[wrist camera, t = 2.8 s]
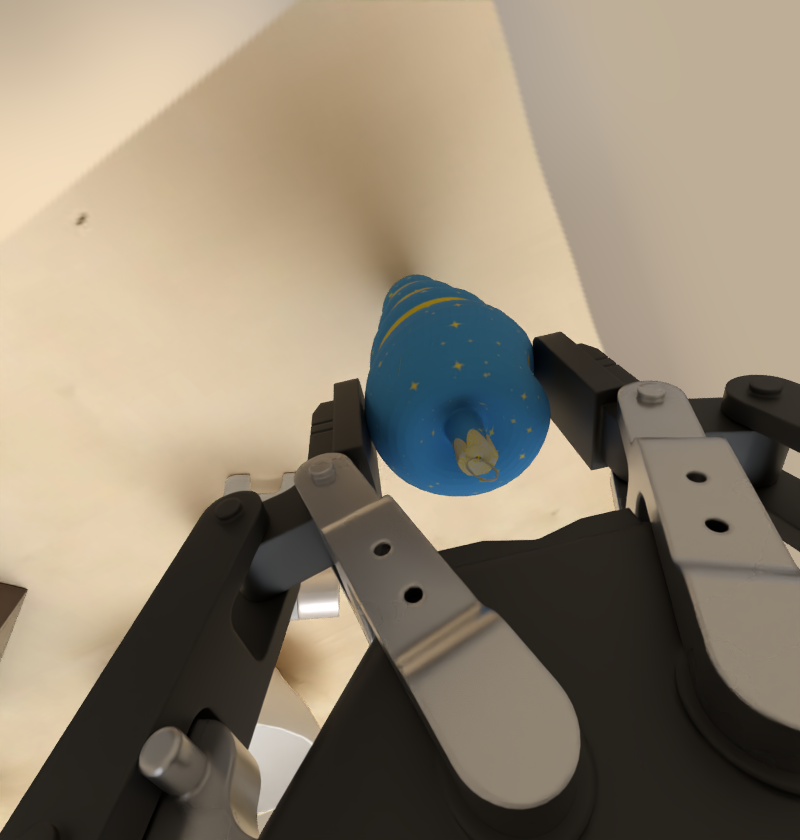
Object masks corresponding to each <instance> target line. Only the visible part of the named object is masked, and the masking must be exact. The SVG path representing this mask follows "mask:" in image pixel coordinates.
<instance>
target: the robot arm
mask: <svg viewBox="0 0 800 840" xmlns="http://www.w3.org/2000/svg"><path fill="white" fill-rule="evenodd" d="M533 354H534V371H533V374H534V376H535V377H536V379H537V380H538V381H539V383H540V384H541V386H542V387H543V389H544V391H545V393H546V395H547V397H548V400H549V404H550V411H551V416H550V418H551V419H552V421H553V422H554V423H555V424H556V426H557V427H558V428H559V430H560V431H561V432H562V433H563V435H564V436H565V437H566V438H567V440H568V441H569V442H570V444H571V445H572V446H573V447H574V449H575V450H576V451H577V452H578V454H579V455H580V456H581V458H582V459H583V460H584V461H585V463H586V464H587V465H588V467H589V468H590V469H591V470H595V469H599V468H604V467H608V466H609V467H610V469H611V479H610V484H611V490H612V495H613V501H614V506H615V511H612V512H607V513H603V514H599V515H594V516H590V517H586V518H581V519H579V520H577V521H575V522H573V523H571V524H569V525H567V526H565V527H563V528H561V529H559V530H557V531H555V532H552V533H550V534H548V535H546V536H544V537H542V538H540V539H536V540H511V541H481V542H476V543H472V544H468V545H463V546H459V547H455V548H450V549H446V550H442V551H437V550H436V549H435V548H434V547H433V546H432V544H431V543H430V542H429V541H428V540H427V538H426V537H425V536H424V535H423V534H422V532H421V531H420V530H419V529H418V528H417V527H416V525H415V524H414V523H413V522H412V521H411V519H410V518H409V517H408V516H407V515H406V513H405V512H404V511H403V510H402V509H401V507H400V506H399V505H398V504H397V503H396V501H395V500H394V499H393V498H392V497H391V496H390V495H385V496H383V497H382V493H381V485H380V477H379V469H378V460H377V452H376V448H375V446H374V444H373V441H372V439H371V436H370V433H369V429H368V425H367V421H366V416H365V399H364V395H363V392H362V388H361V385H360V381H359V379H358V378H357V379H352V380H348V381H344V382H339V383H335V384H334V400H333V401H329V402H325V403H320V405H319V406H318V407H317V409H316V410H315V412H314V413H313V415H312V426H311V435H310V444H309V454H308V461H306V462H305V463H304V464H302V465H301V466H300V467H299V468H298V470H297V471H296V473H295V475H294V484H295V485H294V486H292V487H291V488H289V489H288V490H286V491H284V492H282V493H280V494H278V495H276V496H274V497H272V498H269V499H267V500H265V501H263V502H262V500H261V498H260V496H259V495H258V494H257V493H255V492H253V491H237V492H234V493H231V494H228V495H226V496H224V497H222V498H220V499H218V500H217V501H215V502H214V503H213V504H211V505H210V506H209V507H208V508H207V509H206V510H205V511H204V513H203V514H202V516H201V517H200V519H199V520H198V522H197V523H196V525H195V527H194V528H193V530H192V531H191V533H190V535H189V536H188V538H187V539H186V541H185V542H184V544H183V546H182V547H181V549H180V550H179V552H178V553H177V555H176V557H175V558H174V560H173V561H172V563H171V565H170V566H169V568H168V569H167V571H166V572H165V574H164V576H163V577H162V579H161V580H160V582H159V583H158V585H157V587H156V588H155V590H154V591H153V593H152V594H151V596H150V598H149V599H148V601H147V602H146V604H145V606H144V607H143V609H142V610H141V612H140V613H139V615H138V617H137V618H136V620H135V621H134V623H133V624H132V626H131V628H130V629H129V631H128V632H127V634H126V636H125V637H124V639H123V640H122V642H121V643H120V645H119V647H118V648H117V650H116V651H115V653H114V654H113V656H112V658H111V659H110V661H109V662H108V664H107V666H106V667H105V669H104V670H103V672H102V673H101V675H100V677H99V678H98V680H97V681H96V683H95V684H94V686H93V688H92V689H91V691H90V692H89V694H88V695H87V697H86V699H85V700H84V702H83V703H82V705H81V707H80V708H79V710H78V711H77V713H76V714H75V716H74V718H73V719H72V721H71V722H70V724H69V725H68V727H67V729H66V730H65V732H64V733H63V735H62V737H61V738H60V740H59V741H58V743H57V744H56V746H55V748H54V749H53V751H52V752H51V754H50V755H49V757H48V759H47V760H46V762H45V763H44V765H43V766H42V768H41V770H40V771H39V773H38V774H37V776H36V778H35V779H34V781H33V782H32V784H31V785H30V787H29V789H28V790H27V792H26V793H25V795H24V796H23V798H22V800H21V801H20V803H19V804H18V806H17V808H16V809H15V811H14V812H13V814H12V815H11V817H10V819H9V820H8V822H7V823H6V825H5V826H4V828H3V830H2V831H1V833H0V840H800V569H799V568H798V567H797V565H796V564H795V562H794V560H793V559H792V557H791V555H790V553H789V551H788V549H787V548H786V546H785V544H784V542H786V543H787V544H789V545H790V546H792V547H793V548H795V549H797V550H798V551H799V552H800V479H799V478H797V477H795V476H793V475H791V474H789V473H787V472H785V471H784V470H782V467H783V465H784V461H785V459H786V456H787V453H788V450H789V448H791V449H793V450H795V451H797V452H799V453H800V384H798V383H795V382H792V381H789V380H786V379H783V378H779V377H774V376H767V375H747V376H741V377H737V378H734V379H732V380H730V381H729V382H728V383H727V384H726V387H725V391H724V395H723V398H700V399H699V398H698V399H687V397H686V395H685V393H684V392H683V391H682V390H681V389H679V388H678V387H676V386H674V385H671V384H668V383H664V382H658V381H639V380H637V379H636V378H635V377H633V376H632V375H631V374H629V373H628V372H627V371H626V370H624V369H623V368H622V367H621V366H619V365H616V363H615V362H614V361H613V360H611V359H610V358H608V356H606V355H605V354H604V353H602V352H601V351H600V350H599V349H597V348H594V347H591V346H588V345H585V344H582V343H581V344H576V343H574V342H573V341H572V340H571V339H569V338H568V337H567V336H566V335H565V334H563V333H562V332H556V333H552V334H548V335H544V336H539V337H535V338H534V340H533ZM783 541H784V542H783ZM330 567H331V569H332V571H333V572H334V574H335V576H336V578H337V580H338V582H339V584H340V586H341V588H342V590H343V592H344V594H345V596H346V598H347V600H348V602H349V604H350V606H351V608H352V609H353V611H354V613H355V615H356V617H357V619H358V621H359V624H360V626H361V628H362V630H363V632H364V634H365V636H366V639H367V641H368V643H369V645H370V646H369V648H368V650H367V651H366V653H365V655H364V656H363V658H362V660H361V662H360V663H359V665H358V667H357V669H356V670H355V672H354V674H353V675H352V677H351V679H350V681H349V682H348V684H347V686H346V687H345V689H344V691H343V693H342V694H341V696H340V698H339V699H338V701H337V703H336V705H335V706H334V708H333V710H332V711H331V713H330V715H329V717H328V718H327V720H326V722H325V724H324V725H323V727H322V729H321V730H320V732H319V734H318V736H317V737H316V739H315V741H314V742H313V744H312V746H311V748H310V749H309V751H308V753H307V754H306V756H305V758H304V760H303V761H302V763H301V765H300V766H299V768H298V770H297V772H296V773H295V775H294V777H293V778H292V780H291V782H290V784H289V785H288V787H287V789H286V791H285V792H284V794H283V796H282V797H281V799H280V801H279V803H278V804H277V806H276V808H275V809H274V811H273V813H272V815H271V817H270V818H269V820H268V822H267V823H266V825H265V827H264V828H263V830H262V832H261V834H260V835H259V831H258V825H257V807H258V802H259V796H260V790H261V775H260V769H259V766H258V763H257V761H256V759H255V758H254V757H253V756H252V754H251V753H250V752H249V751H248V749H249V746H250V743H251V740H252V737H253V734H254V730H255V727H256V724H257V721H258V718H259V715H260V712H261V709H262V706H263V702H264V699H265V696H266V693H267V690H268V687H269V684H270V681H271V678H272V674H273V671H274V668H275V665H276V662H277V659H278V656H279V653H280V650H281V646H282V643H283V640H284V637H285V634H286V631H287V628H288V625H289V622H290V618H291V615H292V612H293V609H294V606H295V603H296V600H297V597H298V593H299V590H300V586H301V582H303V581H305V580H307V579H309V578H311V577H313V576H314V575H316V574H318V573H320V572H322V571H324V570H326V569H328V568H330Z"/></svg>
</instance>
